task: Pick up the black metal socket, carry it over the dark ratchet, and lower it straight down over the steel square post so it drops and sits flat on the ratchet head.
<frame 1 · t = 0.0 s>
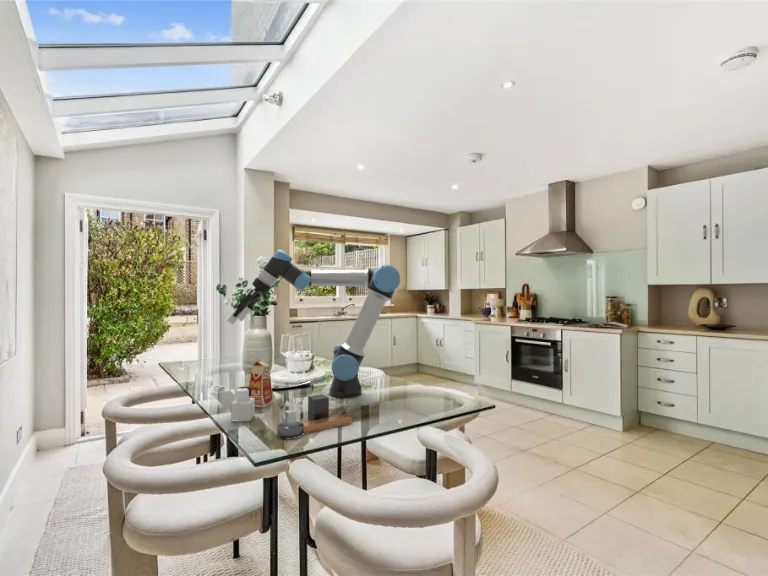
hand: (234, 321, 175), 36 cm above the table, tool tilted 35°, fingers open, 13 cm apart
plate: (280, 384, 211), on the table
milk carton: (259, 403, 176), on the table
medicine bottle: (243, 419, 157), on the table
socket: (318, 420, 156), on the table
ratchet: (290, 434, 142), on the table
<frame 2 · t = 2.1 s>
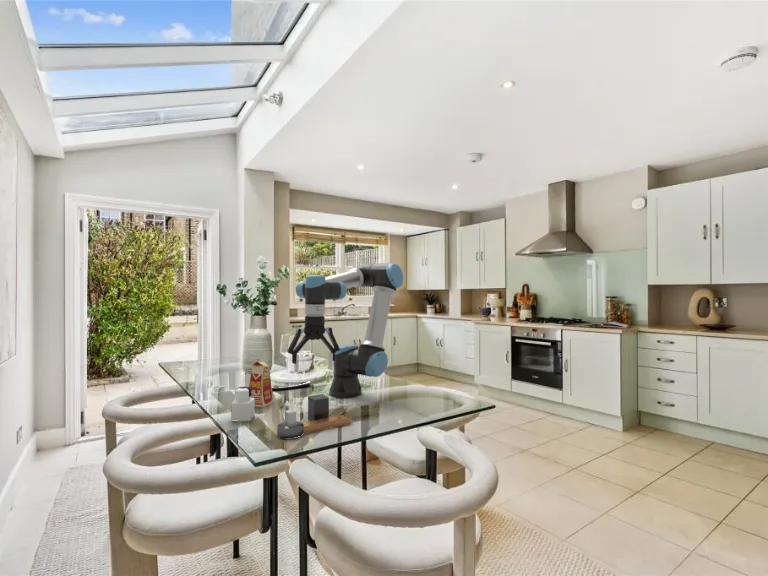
hand: (313, 370, 156), 19 cm above the table, tool pointing down, fingers open, 13 cm apart
nothing on the table moved.
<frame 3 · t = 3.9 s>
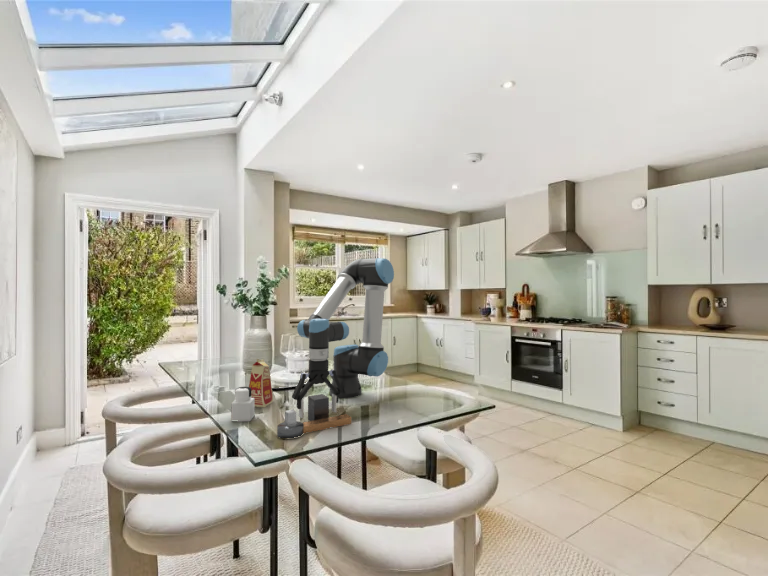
hand: (317, 414, 156), 2 cm above the table, tool pointing down, fingers open, 13 cm apart
nothing on the table moved.
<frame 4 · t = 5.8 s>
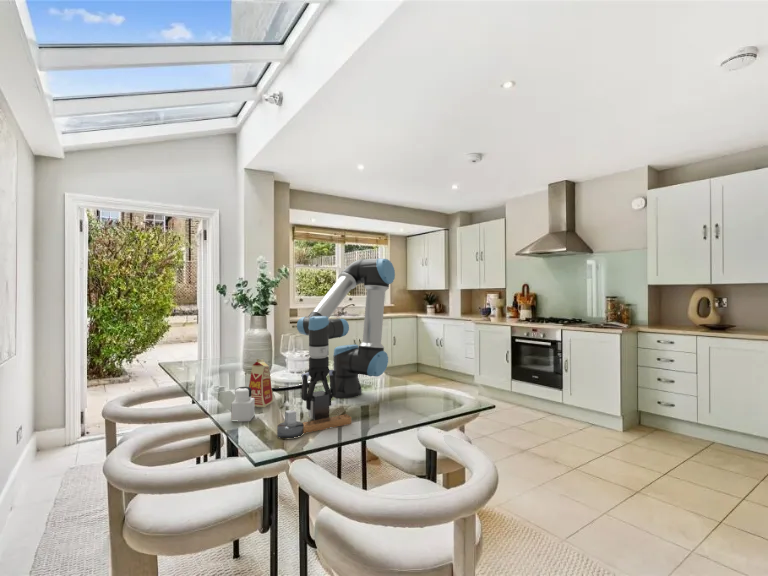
hand: (318, 415, 156), 2 cm above the table, tool pointing down, fingers closed on socket, 6 cm apart
socket: (318, 416, 156), point 1 cm above the table, touching gripper
everything else where it was.
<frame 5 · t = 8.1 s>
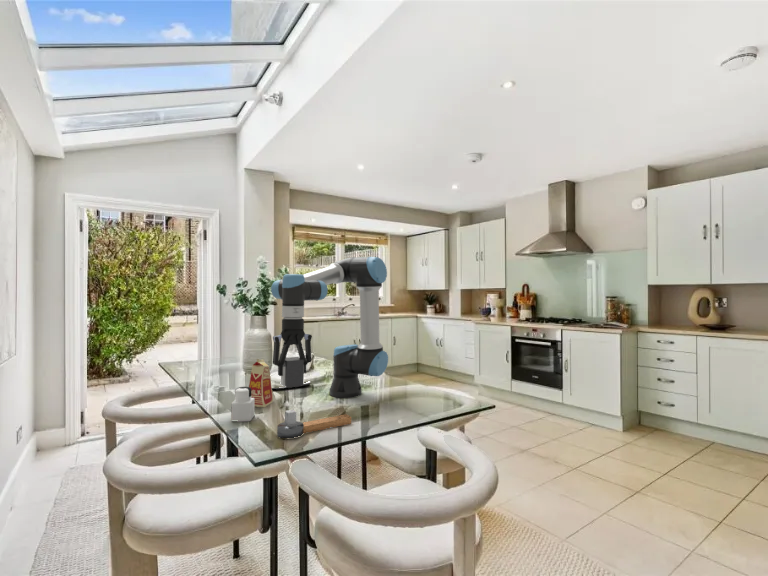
hand: (292, 383, 142), 18 cm above the table, tool pointing down, fingers closed on socket, 6 cm apart
socket: (292, 384, 142), point 17 cm above the table, touching gripper
everything else where it was.
when the fingers open (5 cm above the table, at t = 10.7 s): socket drops 2 cm, resting on ratchet.
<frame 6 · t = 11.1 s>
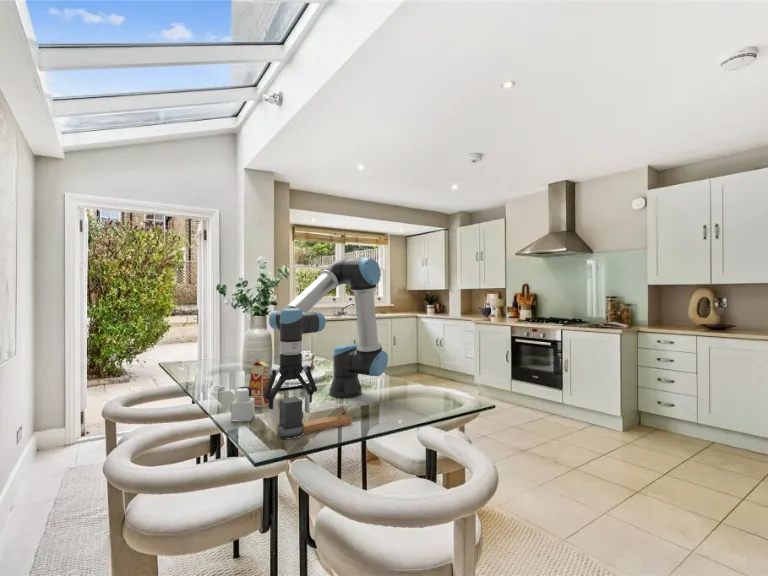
hand: (290, 415, 141), 7 cm above the table, tool pointing down, fingers open, 11 cm apart
socket: (290, 425, 142), point 3 cm above the table, touching ratchet
everything else where it was.
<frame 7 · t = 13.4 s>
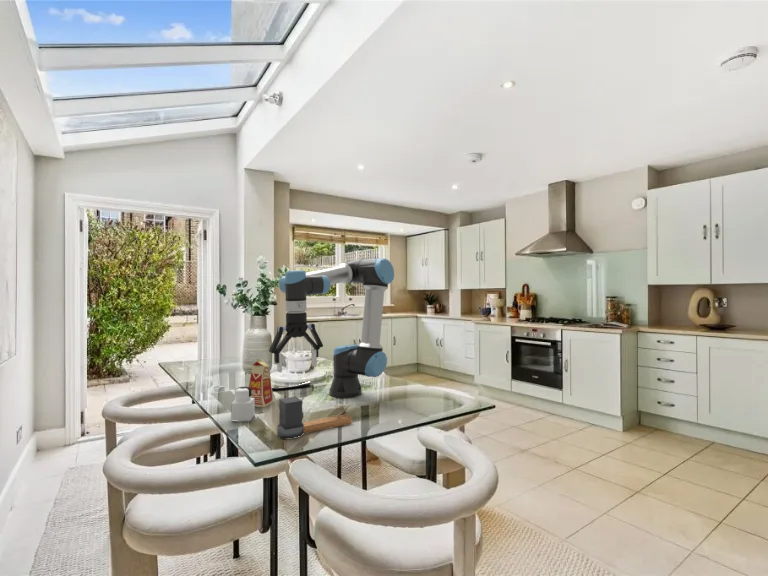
hand: (297, 369, 150), 21 cm above the table, tool pointing down, fingers open, 13 cm apart
nothing on the table moved.
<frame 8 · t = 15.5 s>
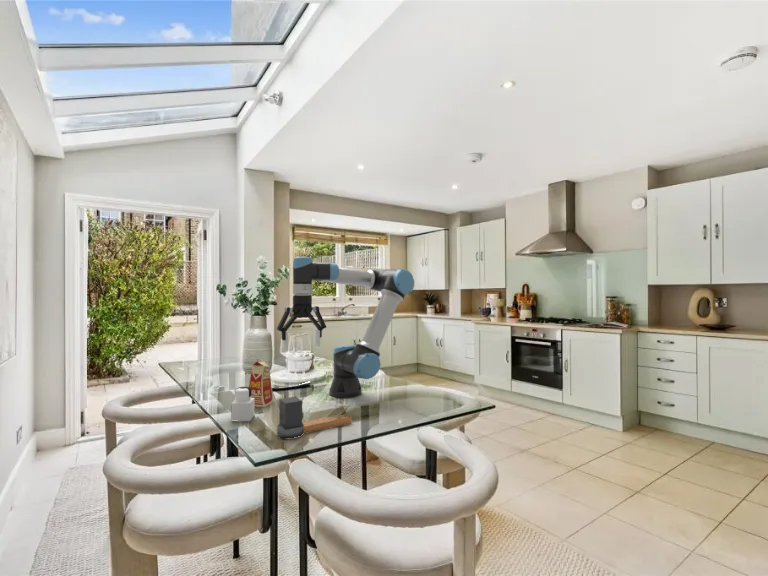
hand: (302, 347, 164), 27 cm above the table, tool pointing down, fingers open, 13 cm apart
nothing on the table moved.
at the end: socket 0.1 cm off-centre on the ratchet, point 3.0 cm above the ratchet's base; socket tilted 0°; the gripper is holding nothing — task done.
